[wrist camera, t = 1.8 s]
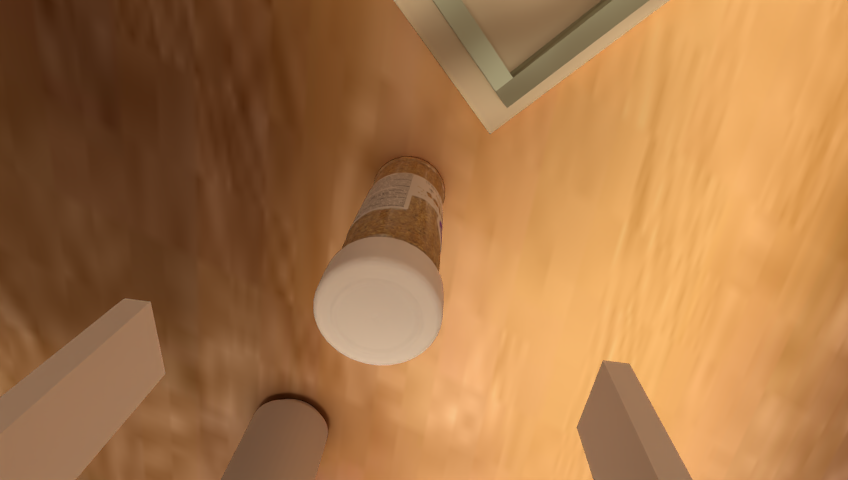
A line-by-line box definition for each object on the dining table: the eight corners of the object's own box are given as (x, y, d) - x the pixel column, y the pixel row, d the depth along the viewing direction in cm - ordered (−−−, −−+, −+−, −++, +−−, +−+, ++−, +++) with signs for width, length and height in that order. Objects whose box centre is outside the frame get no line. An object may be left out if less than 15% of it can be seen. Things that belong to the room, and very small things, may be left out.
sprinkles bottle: (451, 215, 27) (454, 361, 15) (383, 228, 28) (334, 378, 16) (436, 146, 25) (426, 249, 13) (363, 162, 26) (290, 274, 14)
